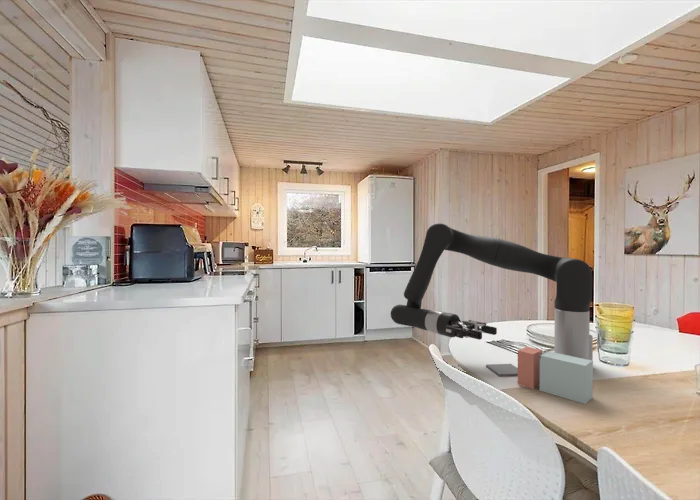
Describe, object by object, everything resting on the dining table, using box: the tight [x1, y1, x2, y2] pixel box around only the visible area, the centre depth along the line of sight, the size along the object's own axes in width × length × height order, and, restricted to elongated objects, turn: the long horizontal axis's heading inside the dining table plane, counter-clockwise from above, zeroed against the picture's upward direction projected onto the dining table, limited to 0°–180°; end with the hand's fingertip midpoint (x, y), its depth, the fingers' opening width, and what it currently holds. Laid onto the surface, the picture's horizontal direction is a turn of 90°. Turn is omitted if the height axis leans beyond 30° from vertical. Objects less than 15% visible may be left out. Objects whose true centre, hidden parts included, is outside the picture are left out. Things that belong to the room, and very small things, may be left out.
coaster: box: [485, 363, 518, 377], centre depth 100 cm, size 8×8×1 cm
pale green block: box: [535, 350, 594, 405], centre depth 85 cm, size 11×6×9 cm, turn 40°
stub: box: [517, 346, 543, 390], centre depth 91 cm, size 4×6×9 cm
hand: (489, 333), depth 100 cm, fingers open, 8 cm apart
